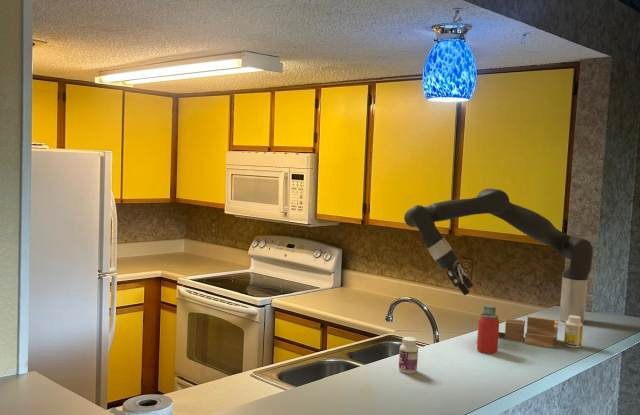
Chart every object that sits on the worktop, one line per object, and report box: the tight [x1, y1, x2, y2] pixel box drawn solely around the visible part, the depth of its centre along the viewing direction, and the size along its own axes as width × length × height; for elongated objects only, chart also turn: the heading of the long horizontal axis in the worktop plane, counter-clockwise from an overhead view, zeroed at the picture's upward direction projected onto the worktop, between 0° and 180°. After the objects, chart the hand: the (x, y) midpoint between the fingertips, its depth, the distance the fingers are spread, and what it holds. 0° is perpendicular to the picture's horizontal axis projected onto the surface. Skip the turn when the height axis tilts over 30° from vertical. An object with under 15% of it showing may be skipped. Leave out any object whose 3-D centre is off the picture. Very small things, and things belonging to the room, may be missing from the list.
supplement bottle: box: [563, 315, 584, 349], centre depth 216 cm, size 6×6×10 cm
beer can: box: [476, 312, 500, 355], centre depth 206 cm, size 7×7×12 cm
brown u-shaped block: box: [524, 316, 559, 349], centre depth 220 cm, size 11×10×7 cm
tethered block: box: [483, 305, 526, 342], centre depth 224 cm, size 6×14×10 cm, turn 69°
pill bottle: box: [398, 336, 419, 375], centre depth 184 cm, size 5×5×10 cm
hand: (469, 290), depth 228 cm, fingers open, 8 cm apart
